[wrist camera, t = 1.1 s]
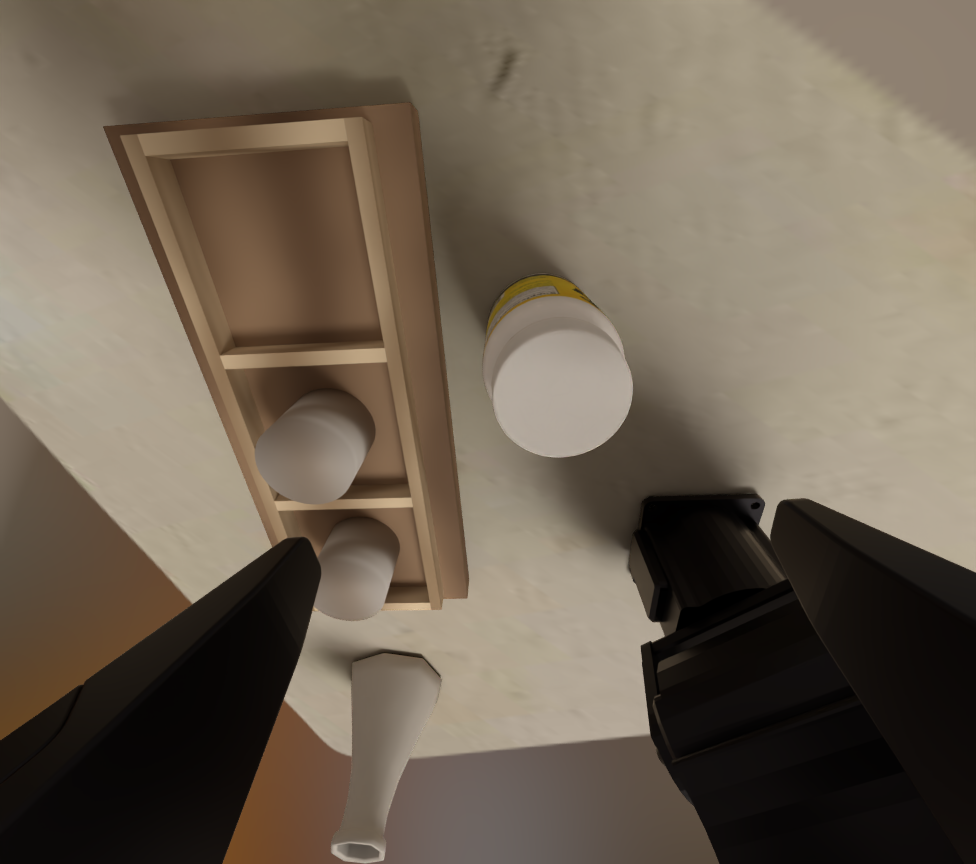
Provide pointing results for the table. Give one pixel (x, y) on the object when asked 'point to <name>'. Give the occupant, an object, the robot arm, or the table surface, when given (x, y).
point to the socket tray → (317, 333)
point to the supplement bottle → (554, 368)
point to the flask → (381, 745)
